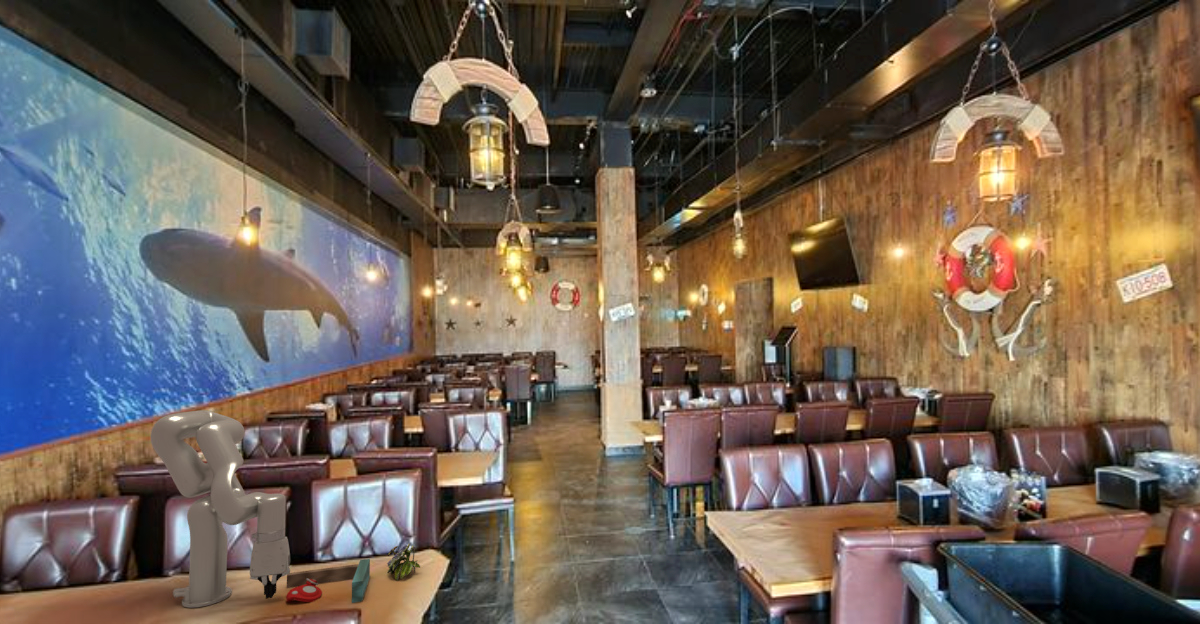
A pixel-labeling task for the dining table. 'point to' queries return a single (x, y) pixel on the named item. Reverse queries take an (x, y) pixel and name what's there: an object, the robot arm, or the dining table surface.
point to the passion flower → (406, 565)
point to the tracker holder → (305, 592)
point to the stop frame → (336, 577)
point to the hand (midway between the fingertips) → (270, 596)
